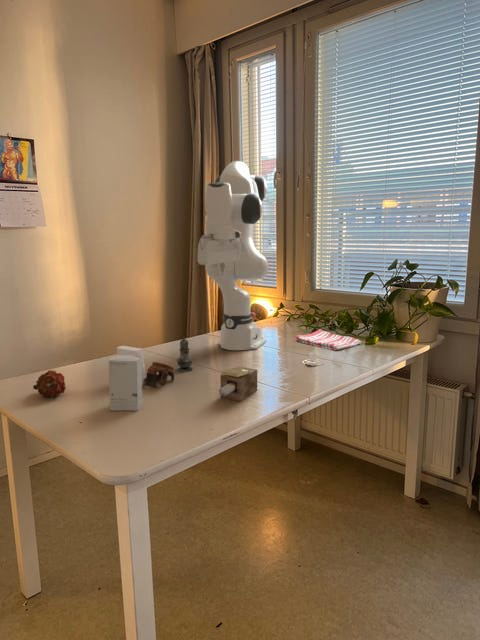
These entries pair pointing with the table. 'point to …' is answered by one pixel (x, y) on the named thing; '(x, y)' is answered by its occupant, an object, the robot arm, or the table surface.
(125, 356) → the skincare box
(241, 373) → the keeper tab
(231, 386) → the pin
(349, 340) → the dish towel
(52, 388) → the dragon fruit
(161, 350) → the table surface
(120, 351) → the base with upright slab
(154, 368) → the brown grey sculpted ring
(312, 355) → the teacup and saucer
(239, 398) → the hitch block
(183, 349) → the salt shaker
